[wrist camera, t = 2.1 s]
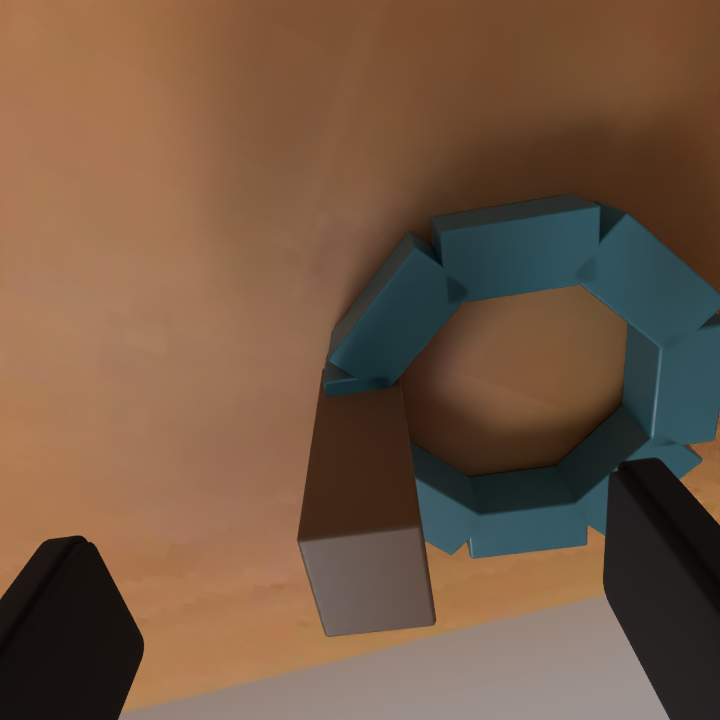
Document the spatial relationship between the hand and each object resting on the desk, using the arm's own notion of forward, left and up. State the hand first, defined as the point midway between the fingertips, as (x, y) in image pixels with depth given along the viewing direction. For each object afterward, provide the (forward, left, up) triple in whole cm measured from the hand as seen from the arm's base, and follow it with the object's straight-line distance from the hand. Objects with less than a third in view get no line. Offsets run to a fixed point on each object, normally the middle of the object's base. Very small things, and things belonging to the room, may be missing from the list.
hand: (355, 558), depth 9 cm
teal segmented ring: (-4, 0, -5) cm, 7 cm away
